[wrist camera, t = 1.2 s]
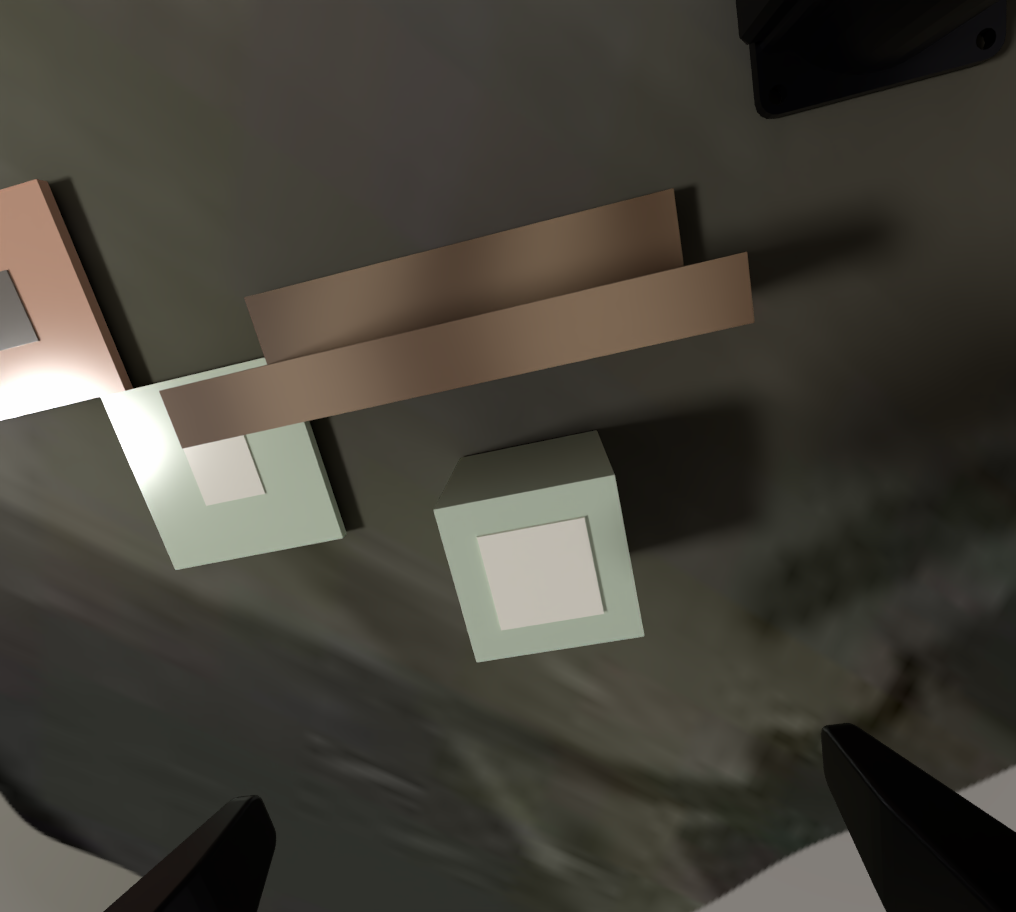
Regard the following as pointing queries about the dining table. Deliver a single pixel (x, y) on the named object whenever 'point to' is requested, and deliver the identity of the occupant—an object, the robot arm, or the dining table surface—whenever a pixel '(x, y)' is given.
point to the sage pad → (224, 481)
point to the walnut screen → (468, 318)
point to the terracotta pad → (48, 312)
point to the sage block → (539, 548)
